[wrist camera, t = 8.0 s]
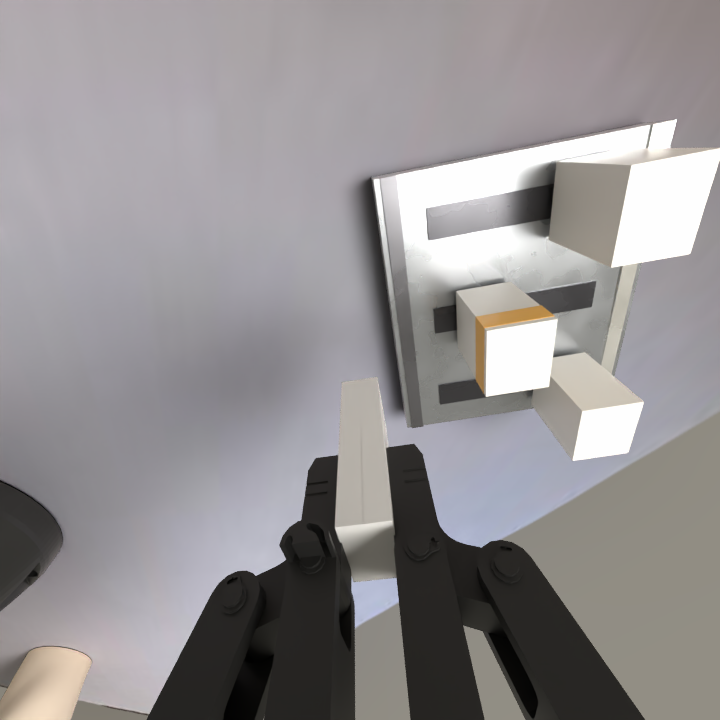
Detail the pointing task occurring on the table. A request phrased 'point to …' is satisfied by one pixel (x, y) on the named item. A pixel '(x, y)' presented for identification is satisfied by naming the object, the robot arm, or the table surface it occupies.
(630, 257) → the block
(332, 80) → the table surface
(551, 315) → the block
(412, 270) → the panel
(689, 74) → the table surface
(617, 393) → the breaker low
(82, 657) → the water bottle
